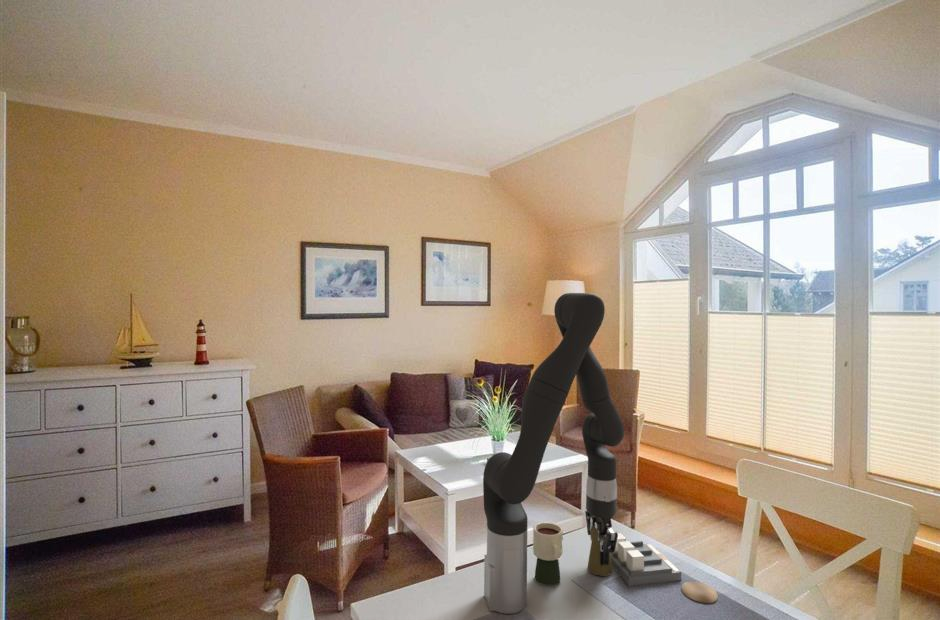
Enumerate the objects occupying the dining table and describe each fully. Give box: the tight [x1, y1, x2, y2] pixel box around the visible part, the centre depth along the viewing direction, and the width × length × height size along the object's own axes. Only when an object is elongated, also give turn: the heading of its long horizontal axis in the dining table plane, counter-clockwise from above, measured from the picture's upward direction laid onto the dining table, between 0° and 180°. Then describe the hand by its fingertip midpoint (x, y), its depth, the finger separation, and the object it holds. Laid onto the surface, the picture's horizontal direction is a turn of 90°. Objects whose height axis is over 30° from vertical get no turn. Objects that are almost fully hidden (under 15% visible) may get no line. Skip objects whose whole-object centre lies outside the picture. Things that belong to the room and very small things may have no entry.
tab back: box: [613, 532, 627, 553], centre depth 126 cm, size 3×3×4 cm
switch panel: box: [610, 540, 682, 586], centre depth 122 cm, size 14×14×3 cm
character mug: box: [532, 521, 564, 586], centre depth 116 cm, size 11×7×13 cm, turn 12°
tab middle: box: [618, 540, 635, 562], centre depth 121 cm, size 3×3×4 cm
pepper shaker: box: [587, 525, 613, 577], centre depth 120 cm, size 6×6×11 cm
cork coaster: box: [681, 581, 718, 604], centre depth 111 cm, size 8×8×1 cm
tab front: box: [626, 550, 644, 571], centre depth 117 cm, size 3×3×4 cm
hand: (600, 560), depth 120 cm, fingers closed on pepper shaker, 4 cm apart
